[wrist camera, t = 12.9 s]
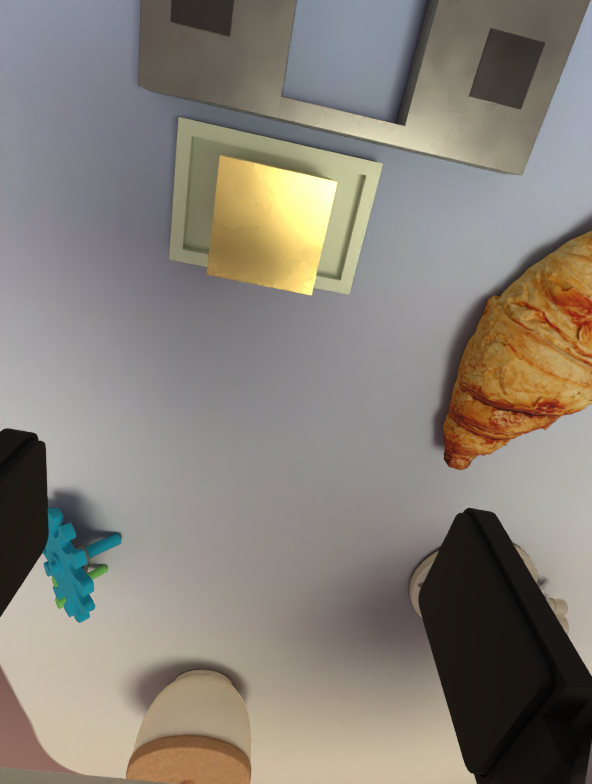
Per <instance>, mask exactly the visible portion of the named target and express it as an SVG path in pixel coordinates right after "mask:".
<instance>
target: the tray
mask: <svg viewBox="0 0 592 784" xmlns="http://www.w3.org/2000/svg"><path fill="white" fill-rule="evenodd" d="M220 155H229V156H239V157H244V158H248V159H252V160H257V161H261V162H265V163H270V164H274V165H279V166H283V167H287V168H292V169H296V170H300V171H305V172H309V173H313V174H318V175H322V176H325V177H328V178H330V179H332V180H334V181H336V182H337V184H336V189H335V193H334V198H333V202H332V207H331V211H330V215H329V220H328V224H327V229H326V233H325V238H324V242H323V247H322V251H321V256H320V260H319V264H318V269H317V273H316V278H315V282H314V287H313V288H318V289H323V290H328V291H333V292H338V293H344V294H350V290H351V286H352V282H353V278H354V274H355V270H356V267H357V263H358V259H359V255H360V251H361V247H362V243H363V239H364V236H365V232H366V228H367V224H368V220H369V216H370V212H371V208H372V205H373V201H374V197H375V193H376V189H377V185H378V181H379V177H380V174H381V170H382V166H383V164H382V163H378V162H373V161H369V160H364V159H360V158H356V157H351V156H347V155H343V154H338V153H334V152H330V151H325V150H321V149H316V148H312V147H308V146H303V145H299V144H295V143H290V142H286V141H282V140H277V139H273V138H268V137H264V136H260V135H255V134H251V133H247V132H242V131H238V130H233V129H229V128H225V127H220V126H216V125H212V124H207V123H203V122H199V121H194V120H190V119H185V118H181V117H178V131H177V146H176V161H175V176H174V191H173V206H172V221H171V236H170V251H169V260H173V261H178V262H183V263H189V264H194V265H199V266H204V267H207V266H208V257H209V248H210V239H211V230H212V222H213V213H214V204H215V195H216V186H217V177H218V168H219V159H220Z"/></svg>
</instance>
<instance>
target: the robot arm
mask: <svg viewBox="0 0 592 784" xmlns="http://www.w3.org/2000/svg"><path fill="white" fill-rule="evenodd" d="M48 537H49V526H48V497H47V468H46V446H45V443H44V442H43V441H39V440H38V436H37V434H35V433H32V432H26V431H20V430H15V429H9V428H7V429H3V430H2V431H0V617H1V615H2V614H3V612H4V611H5V609H6V608H7V606H8V605H9V603H10V602H11V600H12V598H13V597H14V595H15V594H16V592H17V591H18V589H19V588H20V586H21V585H22V583H23V582H24V580H25V579H26V577H27V576H28V574H29V573H30V571H31V569H32V568H33V566H34V565H35V563H36V562H37V560H38V559H39V557H40V556H41V554H42V553H43V551H44V549H45V547H46V544H47V541H48ZM537 581H538V577H537V571H536V568H535V566H534V564H533V563H532V561H531V560H530V558H529V556H528V555H527V554H526V553H525V552H524V551H523V550H522V549H521V548H519V547H517V546H515V545H514V544H513V543H512V541H511V539H510V538H509V536H508V534H507V533H506V531H505V529H504V528H503V526H502V524H501V522H500V521H499V519H498V517H497V516H496V515H495V514H494V513H493V512H490V511H484V510H478V509H472V508H467V509H466V510H464V512H463V513H458V514H457V515H456V517H455V519H454V521H453V523H452V525H451V527H450V529H449V531H448V533H447V535H446V537H445V539H444V541H443V543H442V546H441V548H440V550H439V551H437V552H435V553H434V554H432V555H431V556H429V557H428V558H427V559H426V560H425V561H423V562H422V563H421V565H420V566H419V567H418V568H417V569H416V571H415V573H414V575H413V577H412V578H411V582H410V586H409V590H410V597H411V601H412V605H413V607H414V609H415V611H416V613H417V614H418V615H419V616H420V617H421V618H422V619H423V622H424V626H425V629H426V633H427V636H428V639H429V643H430V646H431V650H432V653H433V657H434V660H435V663H436V667H437V670H438V674H439V677H440V681H441V684H442V688H443V691H444V694H445V698H446V701H447V705H448V708H449V712H450V715H451V719H452V722H453V725H454V729H455V732H456V736H457V739H458V743H459V746H460V749H461V753H462V756H463V760H464V763H465V765H466V767H467V769H468V771H469V772H470V773H473V774H474V775H475V779H476V782H477V784H592V676H591V674H590V673H589V671H588V669H587V668H586V666H585V664H584V663H583V661H582V659H581V658H580V656H579V654H578V652H577V651H576V649H575V647H574V646H573V644H572V642H571V641H570V639H569V637H568V636H567V633H568V630H569V624H568V621H567V619H566V617H565V616H564V615H565V614H566V613H567V611H568V607H567V604H566V602H565V601H564V600H562V599H554V598H549V599H548V598H545V597H544V595H543V593H542V592H541V590H540V588H539V587H538V585H537ZM0 784H174V783H164V782H154V781H143V780H132V779H122V778H111V777H100V776H89V775H79V774H67V773H57V772H47V771H36V770H25V769H14V768H3V767H0Z"/></svg>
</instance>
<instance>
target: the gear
mask: <svg viewBox="0 0 592 784" xmlns="http://www.w3.org/2000/svg"><path fill="white" fill-rule="evenodd" d="M63 521H64V517H63V514H62V512H61V511H60V509H59V508H58V507H57V508H54V509H52V508H51V507H48V526H49V537H48V541H47V544H46V547H45V549H44V551H43V554H44V555H45V557H46V558H47V560H48V561H47V562H45V563H44V568H45V571H46V574H47V576H53V577H52V581H53V584H54V586H53V590H54V592H55V595H56V597H57V598H55V601H56V604H57V606H58V608H59V609H60V608H62V607H64V609H65V611H66V613H67V614H68V616H69V617H71V616H73V615H74V617H75V619H76V621H77V622H79V623H81V622H82V621H84V620H86V619H88V618H90V615H89V612H90V611H92V610H94V609H95V604H94V602H93V600H92V598H91V597H90V595H89V594H90V593H92V592H93V591H94V583H93V580H92V579H94V578H96V577H98V576H100V575H102V574H104V573H106V572H107V568H106V566H105V565H103V566H101V567H99V568H97V569H95V570H93V571H91V572H88V573H87V570H88V565H89V558H91V557H93V556H95V555H97V554H99V553H102V552H104V551H106V550H108V549H110V548H112V547H114V546H117V545H119V544H121V538H120V536H119V534H118V533H116V534H114V535H112V536H110V537H107V538H105V539H103V540H101V541H98V542H96V543H94V544H92V545H89V546H87V547H84V546H83V545H81V546H78V547H76V548H74V547H73V545H72V543H71V540H72V539H74V538H76V533H75V531H74V528H73V526H72V524H71V523H68V524H65V525H63V526H62V525H61V523H62V522H63Z"/></svg>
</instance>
